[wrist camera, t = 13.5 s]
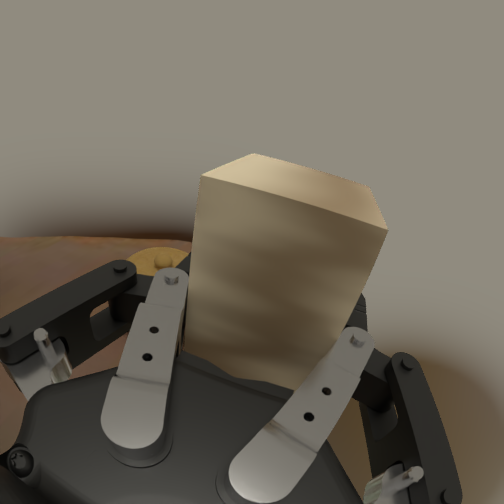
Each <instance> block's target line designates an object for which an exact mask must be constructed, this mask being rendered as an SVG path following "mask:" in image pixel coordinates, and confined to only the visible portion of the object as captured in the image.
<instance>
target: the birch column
mask: <svg viewBox="0 0 504 504" xmlns="http://www.w3.org/2000/svg"><path fill="white" fill-rule="evenodd" d="M387 232H388V228H387V226H386V224H385V221H384V219H383V217H382V214H381V212H380V210H379V207H378V205H377V203H376V201H375V198H374V196H373V194H372V192H371V190H370V188H369V187H368V186H365V185H362V184H359V183H356V182H353V181H350V180H347V179H344V178H341V177H338V176H335V175H331V174H328V173H325V172H322V171H318V170H315V169H311V168H308V167H304V166H301V165H297V164H294V163H290V162H286V161H282V160H279V159H275V158H271V157H267V156H262V155H259V154H254V153H252V154H250V155H247V156H245V157H242V158H240V159H237V160H235V161H232V162H230V163H227V164H225V165H223V166H220V167H218V168H216V169H213V170H211V171H209V172H206V173H205V174H202V175H201V177H200V185H199V192H198V200H197V208H196V216H195V224H194V233H193V242H192V252H191V262H190V273H189V284H188V297H187V310H186V326H185V343H184V351H186V352H188V353H190V354H193V355H195V356H198V357H200V358H203V359H205V360H208V361H209V362H211V363H212V364H214V365H216V366H217V367H219V368H220V369H222V370H223V371H225V372H226V373H228V374H230V375H231V376H233V377H236V378H242V379H250V380H258V381H266V382H269V383H272V384H276V385H279V386H282V387H285V388H289V389H292V390H294V392H293V394H294V393H295V392H296V390H297V389H298V388H299V387H300V385H301V384H302V383H303V382H304V380H305V379H306V378H307V376H308V375H309V374H310V373H311V371H312V370H313V369H314V367H315V366H316V365H317V363H318V362H319V361H320V359H321V358H322V357H325V356H326V354H327V353H328V351H329V350H330V349H331V347H332V346H333V344H334V343H335V342H336V340H337V339H338V338H339V336H340V334H341V333H342V331H343V329H344V327H345V325H346V323H347V321H348V319H349V317H350V315H351V313H352V311H353V309H354V307H355V305H356V303H357V301H358V299H359V297H360V294H361V292H362V290H363V288H364V286H365V284H366V281H367V279H368V277H369V275H370V273H371V270H372V268H373V266H374V263H375V261H376V259H377V257H378V254H379V252H380V249H381V247H382V245H383V242H384V240H385V237H386V234H387Z"/></svg>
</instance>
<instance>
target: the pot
mask: <svg viewBox="0 0 504 504" xmlns="http://www.w3.org/2000/svg"><path fill="white" fill-rule="evenodd" d="M186 256H188V253H186V252H184V251H181V250H178V249H174V248H168V247H154V248H149V249H145V250H142V251H139V252H137V253H135V254H134V255H132V256H130V257H129V258H128V259H127V261H130V262H132V263H134V264H135V266H136V268H137V274H142V275H149V276H154V275H155V273H156V272H157V271H159V270H160V269H163V268H175V267H176V266H177V265H178V264H179V263H180V262H181V261H182V260H183V259H184V258H185V257H186Z"/></svg>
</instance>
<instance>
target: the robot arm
mask: <svg viewBox="0 0 504 504" xmlns="http://www.w3.org/2000/svg"><path fill="white" fill-rule="evenodd" d="M190 262H191V252H190V253H189V254H188V256H186V257H185V258H184V259H183V260H182V261H181V262H180V263H179V264H178V265H177V266H176V267H175V268H163V269H160V270H159V271H157V272H156V273H155V275H154V276H149V275H142V274H137V268H136V266H135V264H134V263H132V262H130V261H127V260H115V261H112V262H109V263H107V264H105V265H103V266H101V267H99V268H97V269H95V270H93V271H91V272H89V273H87V274H85V275H83V276H81V277H79V278H77V279H75V280H73V281H71V282H69V283H67V284H65V285H63V286H61V287H59V288H57V289H55V290H53V291H51V292H49V293H47V294H45V295H43V296H41V297H39V298H38V299H36V300H34V301H32V302H30V303H28V304H26V305H24V306H23V307H21V308H19V309H17V310H15V311H13V312H12V313H10V314H8V315H6V316H4V317H3V318H1V319H0V362H1V364H2V365H3V367H4V369H5V370H6V372H7V374H8V375H9V377H10V378H11V379H12V380H13V381H14V383H15V384H16V386H17V387H18V389H19V390H20V391H21V392H22V393H23V394H24V395H25V397H26V399H27V400H28V403H27V405H26V408H25V411H24V416H23V421H22V425H21V429H20V432H19V435H18V437H17V439H16V442H15V443H14V445H13V446H12V447H11V448H10V449H9V450H8V451H6V452H5V453H3V454H1V455H0V504H461V502H462V489H461V485H460V481H459V478H458V473H457V470H456V466H455V462H454V459H453V455H452V452H451V449H450V446H449V442H448V439H447V436H446V433H445V430H444V427H443V424H442V421H441V418H440V415H439V412H438V409H437V407H436V404H435V401H434V399H433V396H432V393H431V391H430V388H429V386H428V383H427V381H426V378H425V376H424V373H423V371H422V368H421V366H420V364H419V362H418V361H417V360H416V359H415V358H414V357H413V356H411V355H409V354H407V353H404V352H399V353H396V354H394V355H393V356H392V358H390V357H388V356H386V355H384V354H383V353H381V352H379V351H378V350H376V349H375V348H374V347H375V343H374V339H373V338H372V336H371V335H370V334H369V333H368V332H367V315H366V302H365V298H364V296H363V295H362V293H361V294H360V297H359V299H358V301H357V303H356V305H355V307H354V309H353V311H352V313H351V315H350V317H349V319H348V321H347V323H346V325H345V327H344V329H343V331H342V333H341V334H340V336H339V338H338V339H337V340H336V342H335V343H334V344H333V346H332V347H331V349H330V350H329V351H328V353H327V354H326V356H325V357H322V358H321V359H320V361H319V362H318V363H317V365H316V366H315V367H314V369H313V370H312V371H311V373H310V374H309V375H308V376H307V378H306V379H305V380H304V382H303V383H302V384H301V385H300V387H299V388H298V389H297V390H296V392H295V393H294V394H293V392H294V390H292V389H289V388H285V387H282V386H279V385H276V384H272V383H269V382H266V381H258V380H250V379H242V378H236V377H233V376H231V375H230V374H228V373H226V372H225V371H223V370H222V369H220V368H219V367H217V366H216V365H214V364H212V363H211V362H209V361H208V360H205V359H203V358H200V357H198V356H195V355H193V354H190V353H188V352H186V351H183V350H182V349H183V342H184V335H185V326H186V310H187V297H188V284H189V273H190ZM106 301H108V304H109V307H107V308H106V309H104V310H102V311H101V312H99V313H97V314H96V315H94V316H92V317H91V318H90V314H91V312H92V310H93V309H94V308H96V307H98V306H99V305H101V304H103V303H105V302H106ZM129 330H130V332H129V335H128V338H127V341H126V344H125V347H124V350H123V354H122V357H121V360H120V363H119V366H118V367H115V368H111V369H108V370H104V371H101V372H97V373H93V374H90V375H86V376H82V377H78V378H74V379H70V380H68V378H69V377H70V375H71V373H72V369H74V368H75V367H77V366H78V365H80V364H81V363H82V362H84V361H85V360H87V359H88V358H90V357H91V356H93V355H94V354H96V353H97V352H99V351H100V350H102V349H103V348H104V347H106V346H107V345H109V344H110V343H112V342H113V341H115V340H116V339H118V338H119V337H121V336H122V335H124V334H125V333H126V332H128V331H129ZM351 397H352V398H354V399H355V400H357V401H359V407H360V411H361V416H362V421H363V426H364V432H365V437H366V443H367V448H368V454H369V459H370V466H371V473H372V479H371V480H370V481H369V482H368V484H367V485H366V488H365V495H364V497H363V500H364V501H362V500H361V498H360V496H359V495H358V493H357V491H356V489H355V488H354V486H353V484H352V483H351V481H350V479H349V477H348V476H347V474H346V472H345V470H344V469H343V467H342V465H341V464H340V462H339V460H338V458H337V456H336V455H335V453H334V451H333V449H332V448H331V446H330V444H329V442H328V441H327V439H326V438H327V437H328V435H329V434H330V432H331V431H332V429H333V427H334V426H335V424H336V422H337V421H338V419H339V417H340V416H341V414H342V412H343V411H344V409H345V407H346V405H347V404H348V402H349V400H350V398H351ZM394 405H395V407H396V410H397V414H398V418H397V415H396V411H395V408H394Z"/></svg>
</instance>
